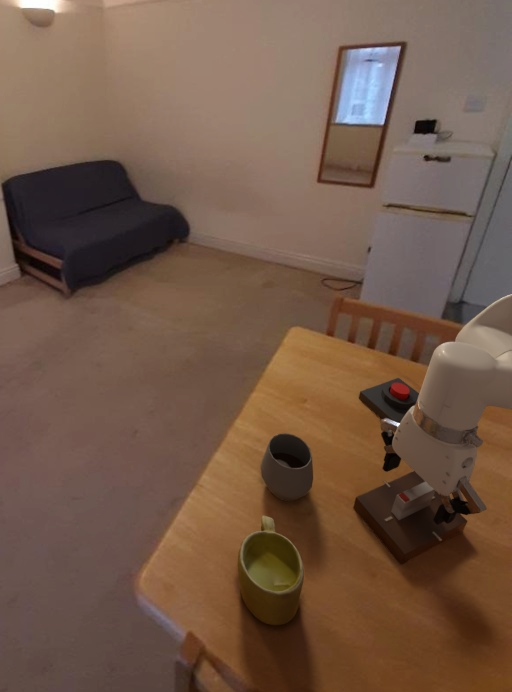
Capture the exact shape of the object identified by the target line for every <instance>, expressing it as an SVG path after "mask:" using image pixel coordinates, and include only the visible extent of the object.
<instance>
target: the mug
mask: <svg viewBox="0 0 512 692" xmlns="http://www.w3.org/2000/svg"><path fill="white" fill-rule="evenodd" d="M237 571H238V581H239V587H240V588H239V590H240V595H241V597H242V600H243V602H244V604H245V606H246V608H247V609H248V611H249V612H250V613H251V614H252V615H253V616H254V617H255V618H256V619H257V620H259V621H260V622H261V623H264V624H267V625H270V626H280V625H285V624H287V623H289V622H291V621H292V619H293V618H294V617H295V615H296V614H297V611H298V608H299V606H300V597H301V593H302V589H303V585H304V581H305V580H304V578H305V568H304V562H303V560H302V557H301V554H300V553H299V550H298V549H297V547H296V546H295V545H294V543H293V542H292V541H291V540H290V539H289V538H287V537H286V536H284V535H283V534H280V533H277V532H276V525H275V520H274V518H272V517H271V516H266V515H262V516H261V527H260V530H257V531H253V532H252V533H251V532H250V534H248V535H246V537H245V538H244V539H243V541H242V542H241V544H240V547H239V550H238V554H237Z"/></svg>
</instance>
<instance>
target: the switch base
mask: <svg viewBox="0 0 512 692" xmlns="http://www.w3.org/2000/svg"><path fill="white" fill-rule="evenodd" d="M382 482H383V484H382V485H379V486H378V487H376V488H374V489H371V490H369V491H366V492H365V493H362V494H360V495H358V496H356V497H355V500H354V504H353V509H354V511H355V512H356V513H357V514H358V515H359V516H360V518H361V519H362V520H363V521H364V522H365V524H366V525H367V526H368V527H369V529H371V531H372V532H373V534H374V535H375V536H376V537H377V538H378V539H379V541H380V542H381V543H382V544H383V545H384V547H385V548H386V549H387V550H388V552H390V554H391V555H392V556H393V557H394V559H395V560H396V561H397V562H398V564H400V566H401V565H403V564H406V563H407V562H409V561H412V560H413V559H415V558H417V557H419V556H420V555H422V554H424V553H426V552H428V551H429V550H432V549H433V548H435V547H437V546H439V545H441V544H443V543H444V542H446V541H448V540H450V539H452V538H454V537H456V536H457V535H459V534H461V533H463V532H464V530H465V528H466V525H467V524H468V520H467V519H466V518H465V517H464V516H463V514H460V513H457V514H456V516H455V518H454V520H453V521H452V522H450V523H448V524H447V523H446V522H445V521H444V522H442V523H440V524H438V525H437V524H436V523H435V522H434V520H433V519H434V517H435V515H436V512H437V510H438V508H439V506H440V505H441V504H443V501H442V499H441V496H440V493H438V492H437V491H435V492H434V495H433V497H432V500H431V502H430V505H429V506H427V507H425V508H423V509H421V510H419V511H417V512H415V513H413V514H411V515H409V516H407V517H405V518H403V519H401V520H398V519H397V518H396V516H395V515H394V514H393V513H392V512H391V511H392V508H393V505H394V502H395V499H396V496H397V495H398V494H400V493H402V492H404V491H406V490H409V489H411V488H413V487H415V486H417V485H419V484H421V483H424V482H425V481H424V480H423V479H422V478H421V477H420V476H419V475H418V474H417V473H416V472H415V471H414V470H413V471H411V472H409V473H407V474H403V475H402V476H399V477H398V478H395V479H393V480H390V481H389V482H387V481H386V480H385V479H383V480H382Z"/></svg>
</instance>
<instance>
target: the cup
mask: <svg viewBox="0 0 512 692" xmlns="http://www.w3.org/2000/svg"><path fill="white" fill-rule="evenodd" d="M260 474H261V478H262V480H263V482H264V484H265V486H266V487H267V488H268V490H269V491H270V493H271V494H273V496H274V497H276V498H278V499H279V500H281V501H285V502H293V501H296V500H299V499H301V498H303V497H304V496H306V495H307V494H308V493H309V492H310V490H311V489H312V487H313V483H314V466H313V455H312V450H311V447H310V446H309V444H308V443H307V442H306V441H304V440H303V438H301V437H299V436H297V435H295V434H292V433H287V432H286V433H285V432H283V433H277V434H275V435H273V436H272V437H271V439H269V441H268V444H267V446H266V448H265V451H264V454H263V456H262V460H261V464H260Z"/></svg>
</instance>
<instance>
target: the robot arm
mask: <svg viewBox="0 0 512 692" xmlns="http://www.w3.org/2000/svg"><path fill="white" fill-rule="evenodd" d="M418 393H419V396H418V399H417V402H416V405H414V406H412V407H411V408H410V409H409V410H408V412H407V413H406V414H405V416H404V417H403V419H402V420H401V422H400V423H398V422H395V421H393V420H390V419H387V418H385V419H382V418H381V419H380V420H379V425H380V430H381V433H380V436H381V439H382V441H383V442H384V445H383V449H384V451H385V455H384V458H383V465H382V468H381V469H382V470H383V471H384V472H386V473H388V472H390V471H393V470H395V469H398V467H400V464H401V461H403V462H404V463H406V465H407V466H408V467H410V469H411V470H413V471H415V472H416V473H417V474H418V475H419V476H420V477H421V478H422V479H423V480H424V481H425V482H426V483H428V484H429V485H430V486H431V487H432V488H433V489H434V490H435V491H436V492H437V493H439V494H440V496H441V499H442V501H443V504H441V505H440V506H439V508H438V510H437V512H436V515H435V517H434V519H433V520H434V522H435V523H436V524H437V525H438V524H440V523H442V522H444V521H445V522H446V523H447V524H448V523H450V522H452V521H453V520H454V518H455V516H456V514H457V513H460V514H461V515H464V516H469V515H475V514H480V513H482V512H484V511H486V510H487V508H488V507H487V506H486V504H485V503H484V501H483V500H482V498H481V497H480V496H479V494H478V493H477V491H476V490H475V489H474V486H473V485H472V484H471V483H470V481H471V478H472V475H473V472H474V468H475V465H476V460H477V454H478V448H480V447H481V446H482V445H483V444H484V440H483V439H482V438H481V437H480V436H479V435H478V433H477V431H478V429H479V426H478V425H479V423H480V421H481V419H482V416H483V414H484V412H485V409H486V407H495V408H501V409H506V410H512V293H510V294H508V295H505V296H503V297H501V298H499V299H497V300H496V301H494V302H492V303H491V304H490V305H488V306H487V307H486V308H485V309H483V310H482V311H480V312H479V313H478V314H477V315H476V316H474V317H473V318H472V319H471V320H469V321H468V322H467V323H466V324H465V325H464V326H463V327H462V328H461V329H460V330H459V332H458V334H457V335H456V337H455V339H454V341H447V342H443V343H441V344H439V345H438V346H436V348H435V349H434V351H433V353H432V355H431V358H430V361H429V364H428V367H427V370H426V373H425V376H424V379H423V382H422V385H421V387H420V390H419V392H418ZM394 432H395V433H394ZM450 495H451V496H452V498H451V496H450ZM463 497H464V498H465V500H464V498H463Z"/></svg>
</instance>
